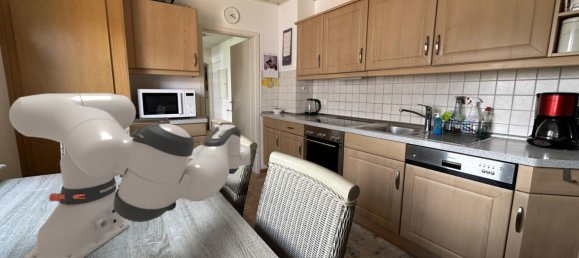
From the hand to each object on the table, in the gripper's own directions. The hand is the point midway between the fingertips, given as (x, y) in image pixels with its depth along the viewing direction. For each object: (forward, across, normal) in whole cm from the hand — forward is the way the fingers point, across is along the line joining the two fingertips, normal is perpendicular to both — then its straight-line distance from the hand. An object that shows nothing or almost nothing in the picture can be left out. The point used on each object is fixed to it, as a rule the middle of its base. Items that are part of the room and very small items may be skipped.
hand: (178, 155), depth 102 cm
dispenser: (+15, +9, -14) cm, 22 cm away
